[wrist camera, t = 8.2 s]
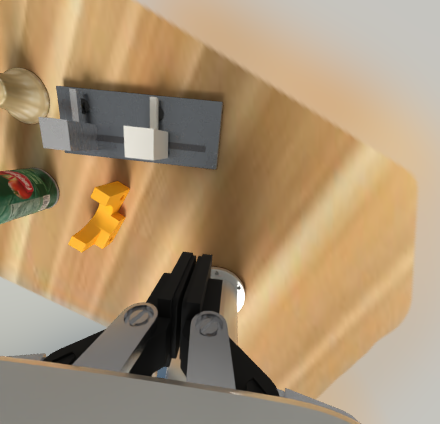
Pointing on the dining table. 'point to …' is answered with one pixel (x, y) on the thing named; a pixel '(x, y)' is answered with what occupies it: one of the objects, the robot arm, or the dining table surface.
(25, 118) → the hand bell
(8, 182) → the canned tomato
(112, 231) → the pipe clamp
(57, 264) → the dining table surface
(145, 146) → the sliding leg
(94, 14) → the dining table surface
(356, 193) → the dining table surface
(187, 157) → the plate
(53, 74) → the dining table surface
